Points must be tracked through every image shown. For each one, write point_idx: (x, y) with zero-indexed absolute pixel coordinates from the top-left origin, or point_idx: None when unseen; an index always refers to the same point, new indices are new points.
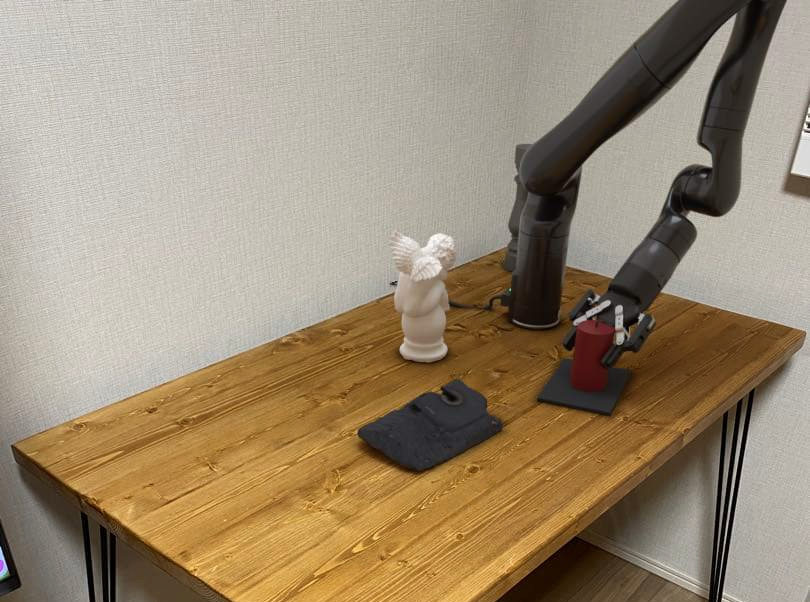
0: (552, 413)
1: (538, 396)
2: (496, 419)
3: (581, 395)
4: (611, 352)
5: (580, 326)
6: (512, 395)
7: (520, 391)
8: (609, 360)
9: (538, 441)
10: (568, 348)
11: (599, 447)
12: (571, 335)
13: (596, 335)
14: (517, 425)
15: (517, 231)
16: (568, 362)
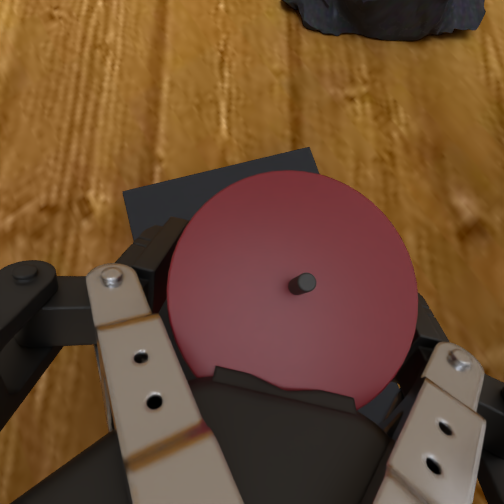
0: (244, 123)
1: (311, 153)
2: (309, 8)
3: None
4: (150, 244)
5: (372, 224)
6: (365, 141)
7: (365, 169)
8: (153, 232)
9: (199, 11)
10: None
11: (80, 57)
12: None
13: (231, 187)
14: (270, 38)
15: None
16: (381, 397)
